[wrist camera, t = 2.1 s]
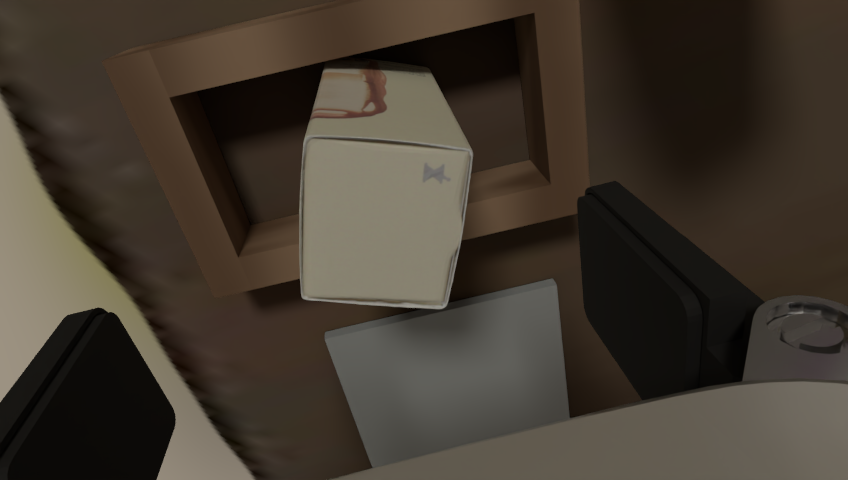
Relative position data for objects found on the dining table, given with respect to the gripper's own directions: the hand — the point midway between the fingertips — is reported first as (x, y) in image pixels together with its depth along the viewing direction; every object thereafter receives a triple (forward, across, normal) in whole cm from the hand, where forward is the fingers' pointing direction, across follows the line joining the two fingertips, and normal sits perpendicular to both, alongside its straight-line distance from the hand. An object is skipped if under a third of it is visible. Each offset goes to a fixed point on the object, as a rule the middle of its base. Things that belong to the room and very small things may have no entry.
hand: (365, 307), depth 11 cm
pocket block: (+14, -1, 0) cm, 14 cm away
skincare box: (+14, -1, 0) cm, 14 cm away
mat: (+14, -2, +16) cm, 21 cm away
